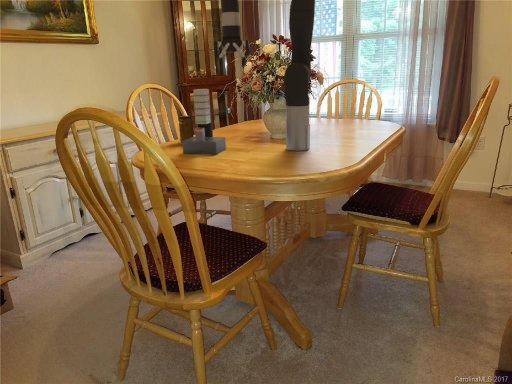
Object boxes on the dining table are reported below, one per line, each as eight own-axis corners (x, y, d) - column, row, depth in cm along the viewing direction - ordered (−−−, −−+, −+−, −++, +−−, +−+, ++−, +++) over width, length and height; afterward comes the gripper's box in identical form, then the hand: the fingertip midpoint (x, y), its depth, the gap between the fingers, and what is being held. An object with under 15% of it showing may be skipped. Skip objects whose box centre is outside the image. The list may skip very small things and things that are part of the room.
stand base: (225, 149, 169) (224, 124, 166) (216, 154, 159) (215, 128, 156) (194, 148, 173) (192, 124, 170) (183, 153, 163) (181, 128, 160)
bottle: (196, 141, 189) (193, 97, 184) (201, 139, 196) (198, 95, 190) (210, 141, 188) (207, 96, 182) (215, 139, 194) (212, 95, 188)
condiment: (179, 142, 190) (176, 115, 186) (197, 140, 192) (195, 114, 188) (180, 144, 183) (178, 117, 179) (199, 143, 185) (197, 116, 182)
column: (211, 122, 164) (209, 88, 161) (206, 124, 160) (204, 89, 156) (199, 122, 166) (197, 89, 162) (195, 123, 161) (192, 89, 157)
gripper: (249, 25, 168) (250, 67, 172) (215, 26, 169) (217, 68, 174) (247, 23, 161) (249, 67, 165) (211, 25, 162) (214, 68, 167)
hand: (232, 67), depth 169 cm, fingers open, 8 cm apart
